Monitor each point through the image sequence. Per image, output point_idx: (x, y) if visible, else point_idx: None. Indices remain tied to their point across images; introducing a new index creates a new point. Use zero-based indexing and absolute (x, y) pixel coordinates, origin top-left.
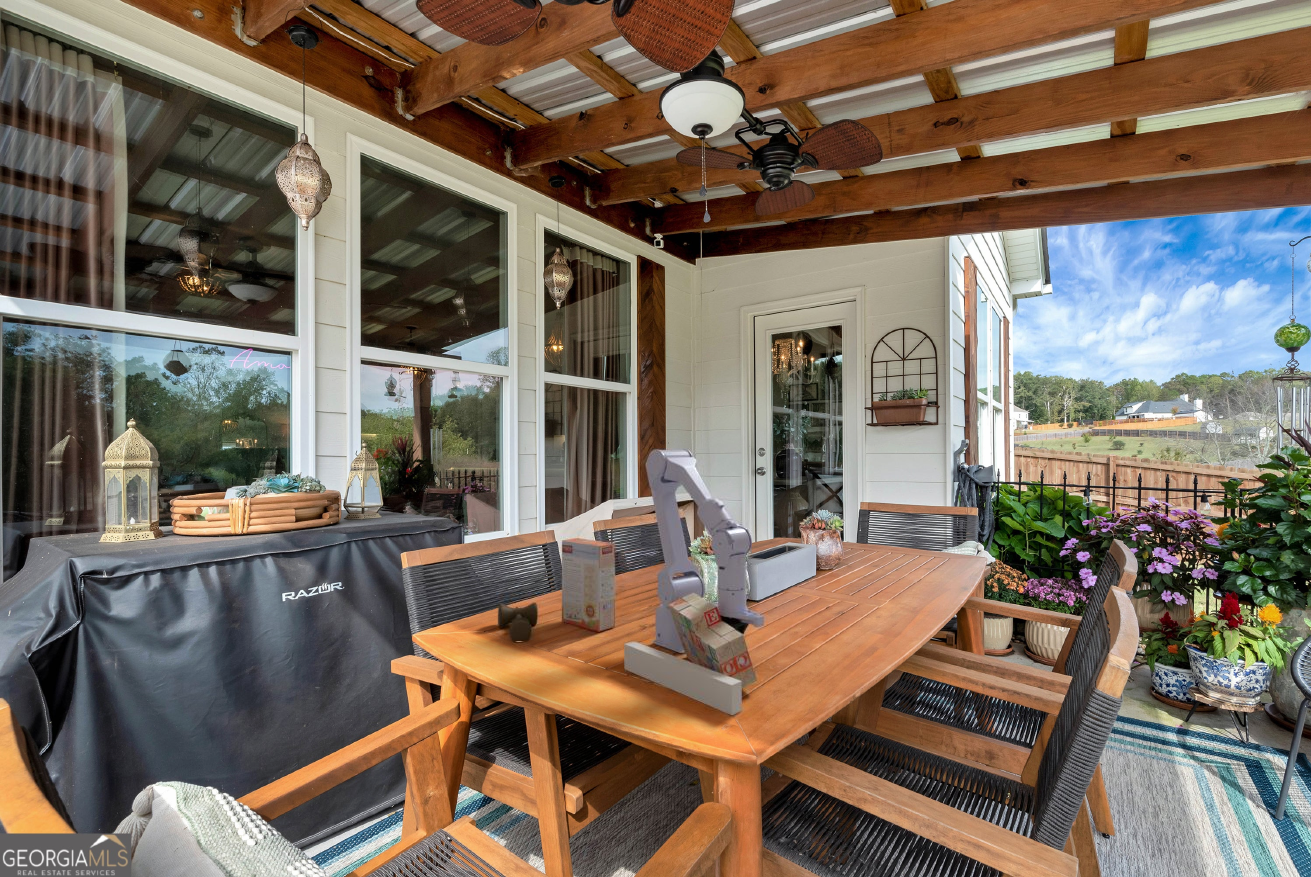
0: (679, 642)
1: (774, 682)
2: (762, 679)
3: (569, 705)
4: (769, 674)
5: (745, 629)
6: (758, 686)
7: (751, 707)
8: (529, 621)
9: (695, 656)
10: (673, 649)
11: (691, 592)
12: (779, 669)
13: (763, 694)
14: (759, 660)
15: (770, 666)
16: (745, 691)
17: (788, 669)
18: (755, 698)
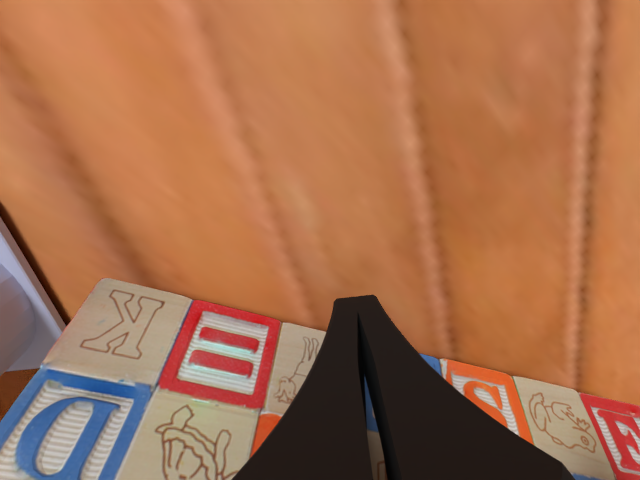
0: (2, 372)
1: (620, 251)
2: (553, 269)
3: None
4: (551, 200)
5: (490, 420)
6: (576, 327)
7: None
8: None
9: None
10: (28, 367)
11: None
12: (564, 93)
13: (630, 358)
14: (376, 82)
15: (492, 103)
16: (557, 384)
17: (615, 38)
18: (618, 393)
